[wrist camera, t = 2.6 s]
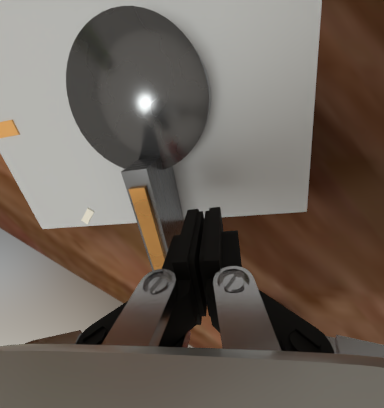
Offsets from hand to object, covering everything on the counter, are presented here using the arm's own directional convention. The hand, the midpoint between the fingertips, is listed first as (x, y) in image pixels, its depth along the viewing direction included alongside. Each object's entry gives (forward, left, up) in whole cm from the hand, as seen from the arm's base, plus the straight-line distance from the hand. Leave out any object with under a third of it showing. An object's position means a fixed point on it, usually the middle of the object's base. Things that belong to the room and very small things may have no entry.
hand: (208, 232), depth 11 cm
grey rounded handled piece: (+4, -3, -7) cm, 9 cm away
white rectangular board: (+6, -7, -9) cm, 12 cm away
